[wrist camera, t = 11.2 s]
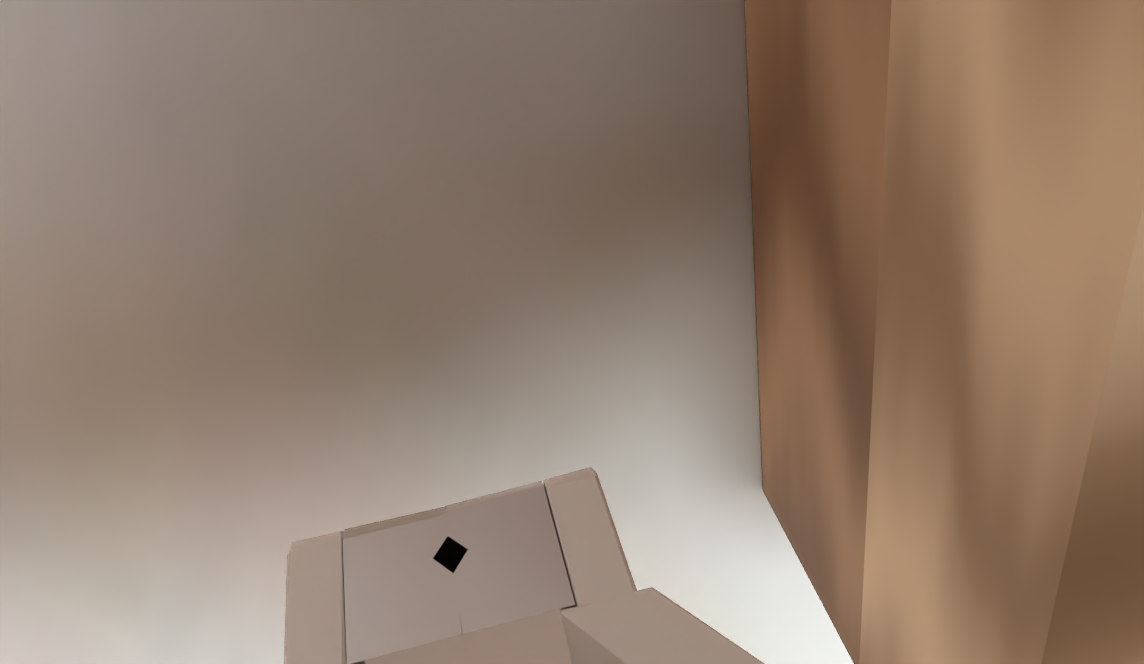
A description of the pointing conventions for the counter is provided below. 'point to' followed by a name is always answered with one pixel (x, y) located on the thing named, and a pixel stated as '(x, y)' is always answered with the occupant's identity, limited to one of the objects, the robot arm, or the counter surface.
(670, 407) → the counter surface
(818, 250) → the board
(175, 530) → the counter surface
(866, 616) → the tan wooden bar
